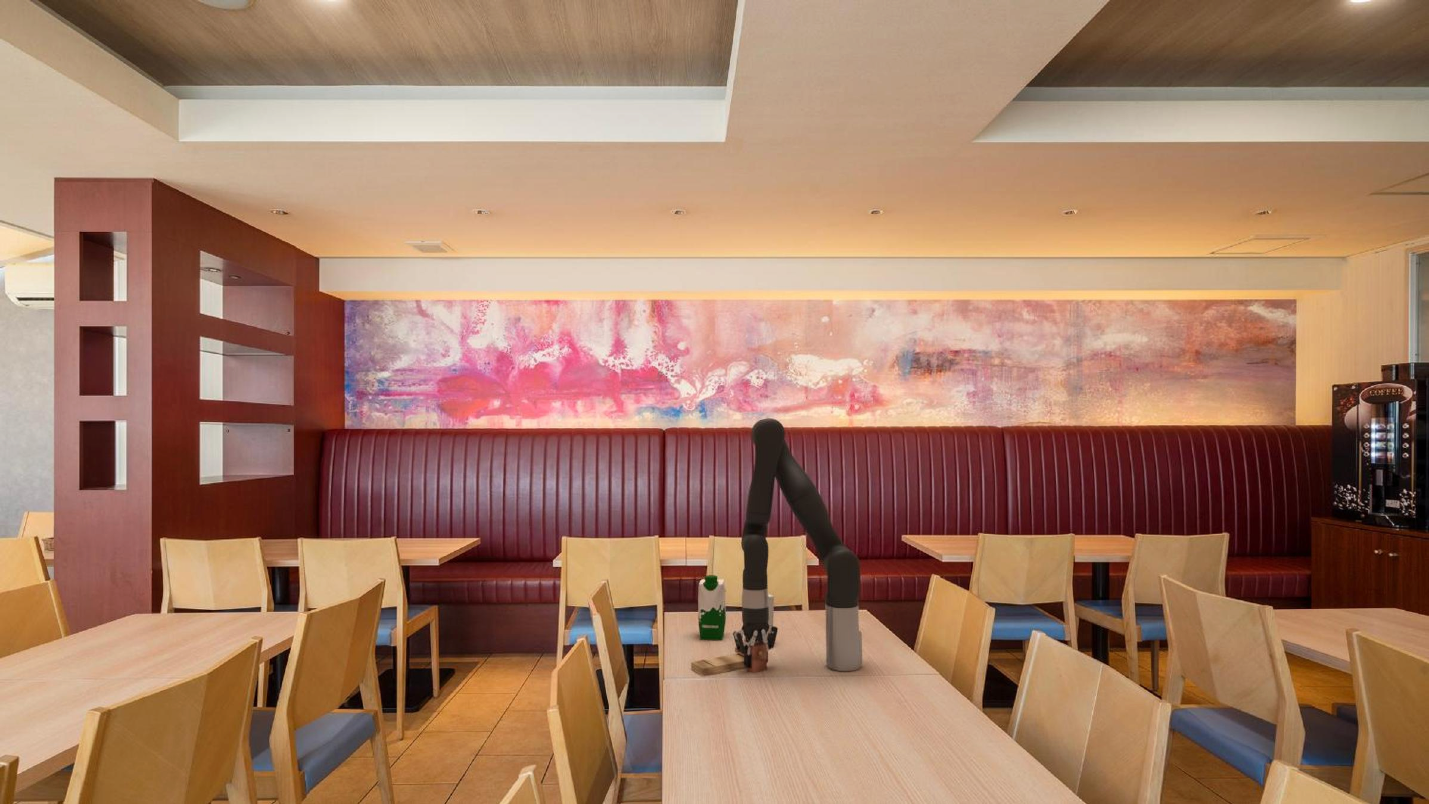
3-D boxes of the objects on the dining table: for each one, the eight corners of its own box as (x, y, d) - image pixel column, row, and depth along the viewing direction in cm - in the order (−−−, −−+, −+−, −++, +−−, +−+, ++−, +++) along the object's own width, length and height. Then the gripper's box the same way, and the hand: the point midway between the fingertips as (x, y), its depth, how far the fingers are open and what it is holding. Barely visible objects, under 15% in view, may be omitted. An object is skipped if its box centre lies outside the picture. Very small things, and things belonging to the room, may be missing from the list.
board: (748, 658, 216) (748, 651, 216) (761, 664, 210) (761, 657, 210) (691, 669, 206) (691, 661, 206) (703, 676, 200) (703, 668, 200)
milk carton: (697, 640, 235) (696, 577, 236) (700, 633, 244) (700, 572, 245) (724, 641, 234) (723, 577, 235) (726, 633, 243) (726, 572, 244)
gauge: (743, 658, 216) (743, 634, 216) (768, 670, 205) (767, 644, 205) (730, 661, 213) (730, 636, 214) (754, 673, 203) (754, 647, 203)
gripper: (768, 598, 214) (769, 658, 213) (726, 604, 206) (727, 666, 206) (783, 603, 207) (784, 665, 206) (740, 610, 200) (741, 674, 199)
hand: (756, 665), depth 206 cm, fingers closed on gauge, 4 cm apart
